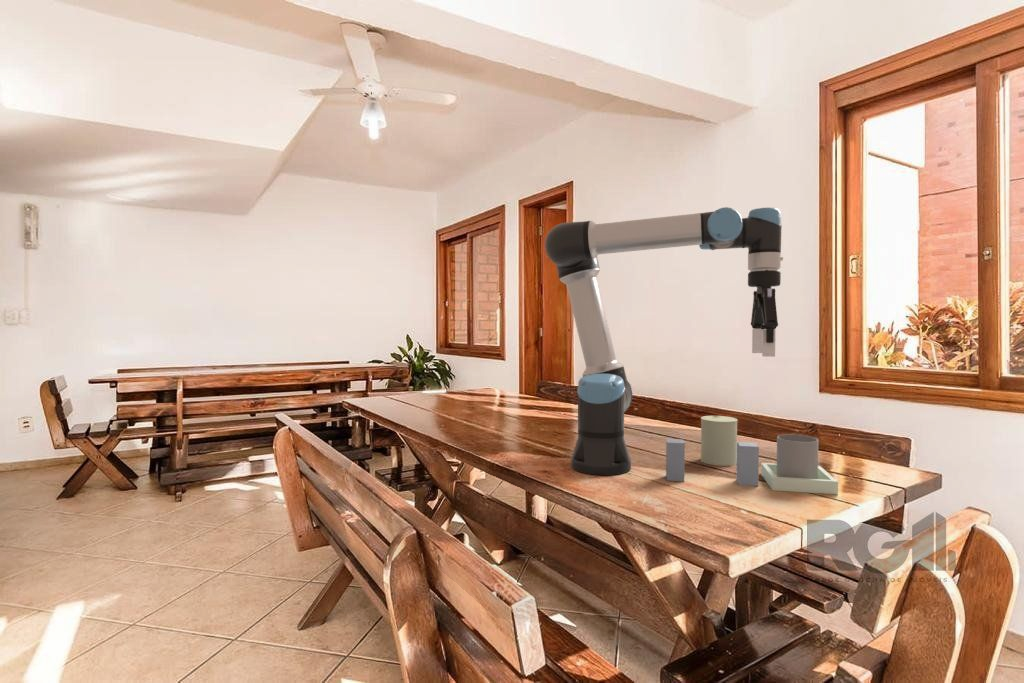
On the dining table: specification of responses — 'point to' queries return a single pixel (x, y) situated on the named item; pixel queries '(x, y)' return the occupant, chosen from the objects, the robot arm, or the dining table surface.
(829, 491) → the tray
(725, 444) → the can
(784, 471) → the cup
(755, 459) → the block
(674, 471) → the block
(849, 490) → the dining table surface
